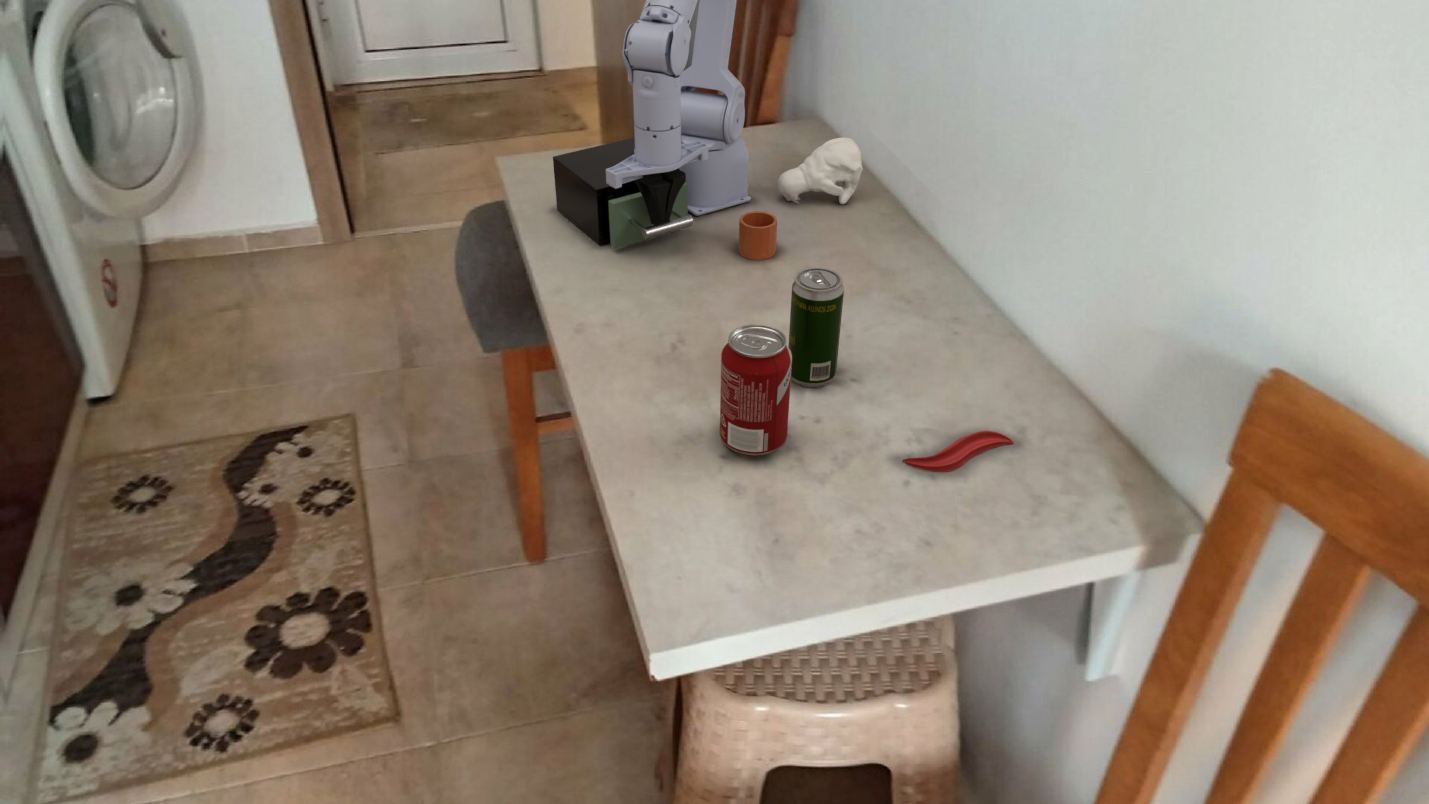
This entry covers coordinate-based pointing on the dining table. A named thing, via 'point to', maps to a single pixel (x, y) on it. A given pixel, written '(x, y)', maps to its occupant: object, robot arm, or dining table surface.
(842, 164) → the white lumpy figure
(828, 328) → the beer can
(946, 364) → the dining table surface
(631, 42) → the robot arm
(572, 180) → the drawer cabinet
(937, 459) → the cayenne pepper
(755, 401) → the soda can
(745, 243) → the cup
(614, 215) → the green drawer
